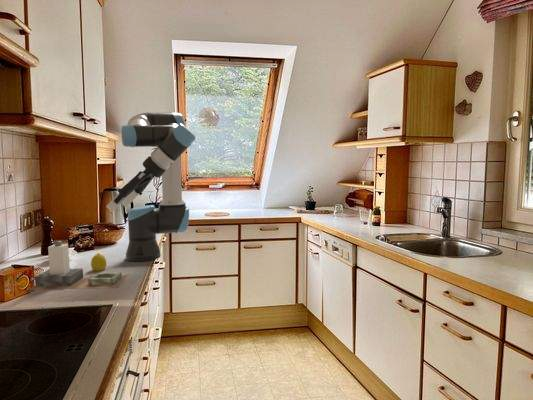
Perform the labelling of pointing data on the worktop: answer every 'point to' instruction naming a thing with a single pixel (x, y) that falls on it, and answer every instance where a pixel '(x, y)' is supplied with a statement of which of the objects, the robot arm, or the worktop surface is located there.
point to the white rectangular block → (58, 258)
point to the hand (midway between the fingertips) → (116, 207)
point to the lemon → (98, 262)
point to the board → (78, 280)
